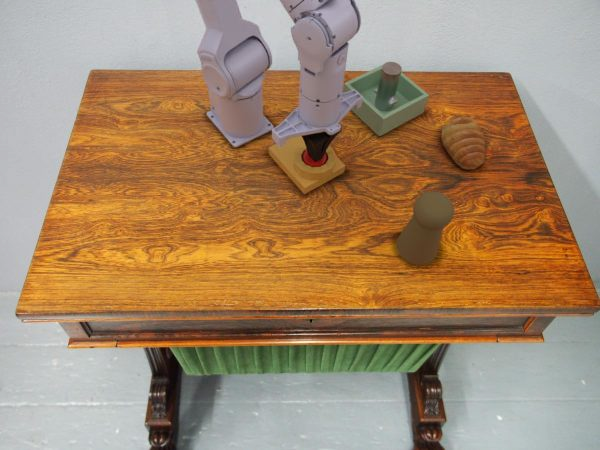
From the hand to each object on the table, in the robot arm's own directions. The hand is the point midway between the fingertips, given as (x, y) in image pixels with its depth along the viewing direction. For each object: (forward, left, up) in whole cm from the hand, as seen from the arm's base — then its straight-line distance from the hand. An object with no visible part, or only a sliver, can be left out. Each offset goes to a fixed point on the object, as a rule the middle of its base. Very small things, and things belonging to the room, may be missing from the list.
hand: (314, 156), depth 77 cm
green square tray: (-5, +19, -3) cm, 20 cm away
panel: (-2, 0, -3) cm, 4 cm away
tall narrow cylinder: (-5, +19, -3) cm, 20 cm away
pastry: (+10, +24, -4) cm, 26 cm away
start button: (0, 0, -2) cm, 2 cm away
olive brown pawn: (+20, +4, -4) cm, 21 cm away
